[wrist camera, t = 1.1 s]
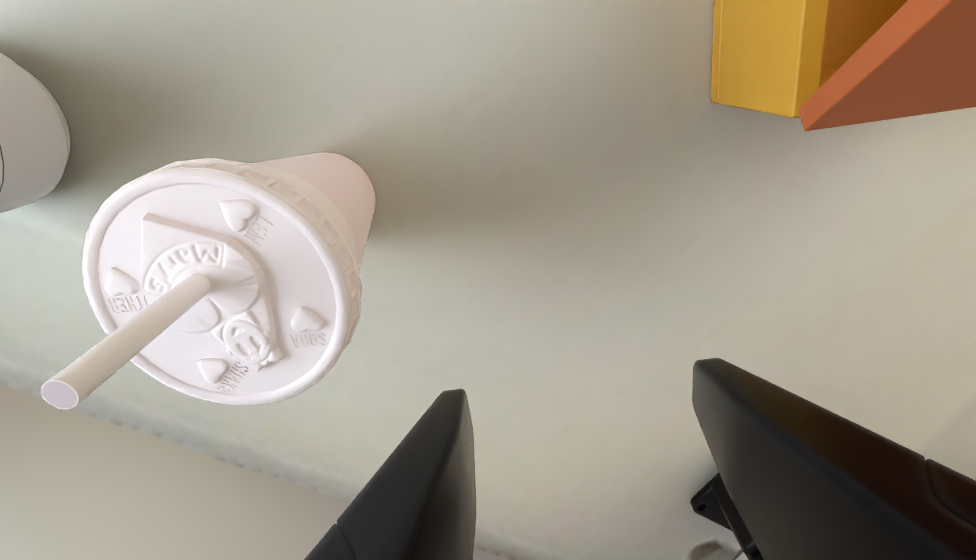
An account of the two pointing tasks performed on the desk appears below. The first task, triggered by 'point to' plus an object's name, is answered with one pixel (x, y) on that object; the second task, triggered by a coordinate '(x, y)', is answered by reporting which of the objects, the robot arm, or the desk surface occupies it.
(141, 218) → the smoothie
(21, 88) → the energy drink can
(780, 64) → the lunchbox
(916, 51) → the lunchbox lid
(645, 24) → the desk surface
